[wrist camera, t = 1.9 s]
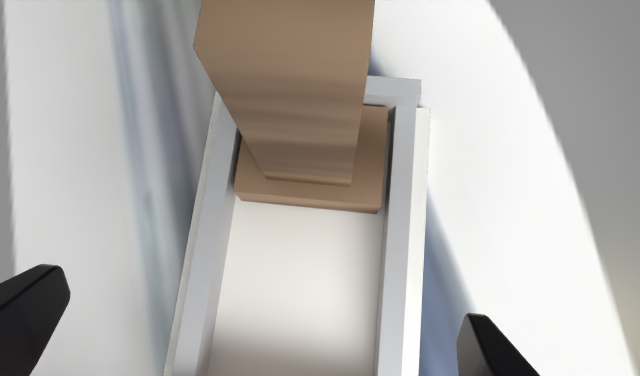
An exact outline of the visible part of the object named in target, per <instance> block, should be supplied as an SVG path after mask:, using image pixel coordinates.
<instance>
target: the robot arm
mask: <svg viewBox="0 0 640 376" xmlns="http://www.w3.org/2000/svg"><path fill="white" fill-rule="evenodd" d="M69 300H70V290H69V286H68V283H67V280H66V277H65V274H64V271H63V269H62V268H61V267H60V266H57V265H48V264H40V265H38V266H35V267H33V268H31V269H29V270H27V271H25V272H23V273H21V274H19V275H17V276H15V277H13V278H11V279H9V280H6V281H4V282H2V283H0V376H29V375H30V374H31V372H32V371H33V369H34V367H35V366H36V364H37V362H38V360H39V359H40V357H41V355H42V353H43V351H44V349H45V347H46V345H47V344H48V342H49V340H50V338H51V336H52V334H53V332H54V330H55V328H56V326H57V324H58V322H59V320H60V319H61V317H62V315H63V313H64V311H65V309H66V307H67V305H68V303H69ZM456 349H457V360H458V371H459V376H540V375H539V374H538V373H537V372H536V370H535V369H534V368H533V367H532V366H531V365H530V364H529V363H528V361H527V360H526V359H525V358H524V357H523V356H522V355H521V353H520V352H519V351H518V350H517V349H516V348H515V347H514V346H513V344H512V343H511V342H510V341H509V340H508V339H507V338H506V336H505V335H504V334H503V333H502V332H501V331H500V330H499V328H498V327H497V326H496V325H495V324H494V323H493V322H492V321H491V319H490V318H489V317H487V316H486V315H483V314H475V313H467V314H466V315H465V317H464V319H463V322H462V326H461V329H460V332H459V335H458V338H457V345H456Z"/></svg>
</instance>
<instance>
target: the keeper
mask: <svg viewBox="0 0 640 376" xmlns="http://www.w3.org/2000/svg"><path fill="white" fill-rule="evenodd" d="M374 5H375V0H202V5H201V10H200V14H199V19H198V24H197V29H196V34H195V39H194V44H193V48H194V50H195V52H196V54H197V56H198V57H199V59H200V61H201V63H202V65H203V66H204V68H205V70H206V72H207V74H208V75H209V77H210V79H211V81H212V83H213V84H214V86H215V88H216V90H217V92H218V93H219V95H220V97H221V99H222V100H223V102H224V104H225V106H226V108H227V109H228V111H229V113H230V115H231V117H232V118H233V120H234V122H235V124H236V126H237V127H238V129H239V131H240V133H241V135H242V140H241V146H240V152H239V158H238V164H237V170H236V176H235V183H234V189H233V192H234V193H235V194H236V195H237V196H238V197H239V198H240V200H241V201H248V202H258V203H268V204H278V205H288V206H298V207H308V208H318V209H328V210H338V211H348V212H358V213H368V214H377V213H378V211H379V209H380V207H381V200H382V187H383V173H384V159H385V146H386V132H387V119H388V107H377V106H365V105H363V101H364V94H365V88H366V81H367V75H368V68H369V62H370V51H371V39H372V28H373V16H374Z"/></svg>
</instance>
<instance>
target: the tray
mask: <svg viewBox="0 0 640 376" xmlns="http://www.w3.org/2000/svg"><path fill="white" fill-rule="evenodd" d="M420 95H421V80H417V79H405V78H393V77H380V76H368V75H367V81H366V88H365V94H364V101H363V105H365V106H377V107H388V119H387V132H386V146H385V159H384V173H383V187H382V200H381V207H380V209H379V211H378V213H377V214H368V213H358V212H348V211H338V210H328V209H318V208H308V207H298V206H288V205H278V204H268V203H258V202H248V201H241V200H240V198H239V197H238V196H237V195H236V194H235V193H234V192H233V189H234V183H235V176H236V170H237V164H238V158H239V152H240V146H241V140H242V135H241V133H240V131H239V129H238V127H237V126H236V124H235V122H234V120H233V118H232V117H231V115H230V113H229V111H228V109H227V108H226V106H225V104H224V102H223V100H222V99H221V97H220V95H219V93H218V92H217V91H215V97H214V102H213V108H212V113H211V118H210V124H209V129H208V135H207V140H206V145H205V151H204V156H203V162H202V167H201V172H200V178H199V183H198V189H197V194H196V199H195V205H194V210H193V216H192V221H191V226H190V232H189V237H188V243H187V248H186V254H185V259H184V264H183V270H182V275H181V281H180V286H179V291H178V297H177V302H176V308H175V313H174V318H173V324H172V329H171V335H170V340H169V345H168V351H167V356H166V362H165V367H164V372H163V376H418V369H419V347H420V326H421V304H422V283H423V261H424V240H425V218H426V197H427V175H428V153H429V132H430V110H431V109H428V108H416V107H417V105H418V103H419V101H420Z"/></svg>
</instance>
